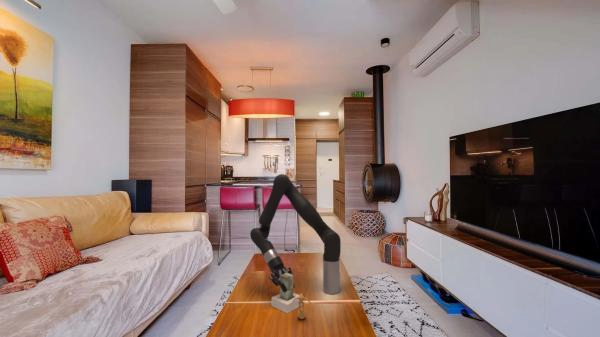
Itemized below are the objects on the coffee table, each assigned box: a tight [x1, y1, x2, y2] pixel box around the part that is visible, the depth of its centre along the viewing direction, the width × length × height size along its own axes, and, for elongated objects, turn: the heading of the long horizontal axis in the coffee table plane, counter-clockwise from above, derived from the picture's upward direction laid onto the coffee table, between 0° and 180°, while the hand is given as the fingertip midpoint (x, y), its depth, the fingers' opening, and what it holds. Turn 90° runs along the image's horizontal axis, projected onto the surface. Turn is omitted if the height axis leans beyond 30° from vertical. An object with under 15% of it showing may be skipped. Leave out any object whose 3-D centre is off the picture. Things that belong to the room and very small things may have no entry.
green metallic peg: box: [279, 273, 294, 301], centre depth 128 cm, size 4×4×12 cm
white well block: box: [271, 292, 303, 314], centre depth 128 cm, size 11×11×4 cm
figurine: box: [292, 292, 312, 320], centre depth 115 cm, size 8×6×12 cm
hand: (289, 289), depth 127 cm, fingers closed on green metallic peg, 4 cm apart
